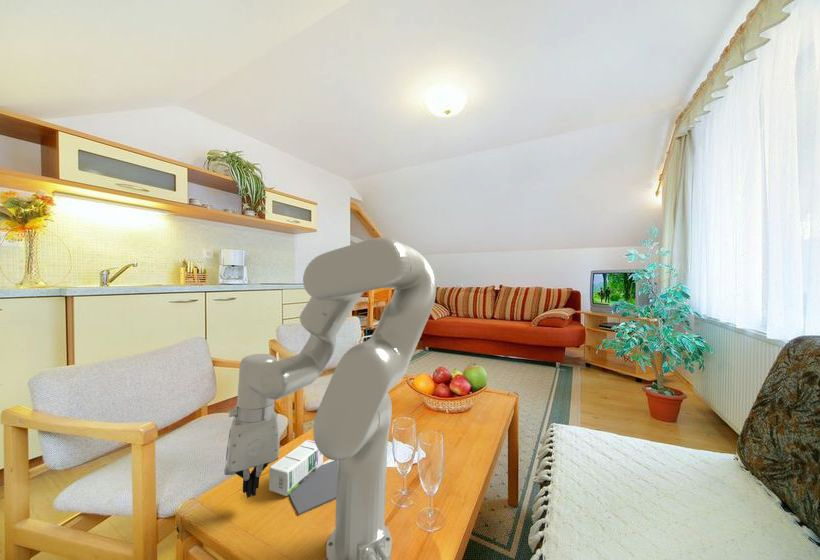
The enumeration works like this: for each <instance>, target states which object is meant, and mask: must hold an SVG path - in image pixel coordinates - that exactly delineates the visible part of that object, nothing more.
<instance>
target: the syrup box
mask: <svg viewBox="0 0 820 560" xmlns="http://www.w3.org/2000/svg"><path fill="white" fill-rule="evenodd" d="M321 465H324V456H323V455H322V454H321V453H320V451H319V450H318V448H317V446H316V443H315V440H311V439H307V440H305V441H304V442H302V443H301V444H300V445H298V446H296V447H295V448H293V450H291V451H289V453H287V454H286V455H284V456H283V457H281V458H280V459H279V460H277V461H275V463H274V464H272V465H270V466H269V477H268V478H269V481H268V491H271V492H273V493H276V494H279V495H282V496H285V497H289V494H290V493H291V492H292V491H293V490H294V489H295V488H296V487H298V486H299V485H300V484H301V483H302V482H303V481H304V480H305V479H306V478H307V477H309V476H310V475H311V474H312V473H313V472H314V471H315V470H316V469H317V468H319V467H320V466H321Z"/></svg>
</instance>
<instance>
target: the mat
mask: <svg viewBox="0 0 820 560" xmlns="http://www.w3.org/2000/svg"><path fill="white" fill-rule="evenodd" d="M337 468H338V461H335V460H331V461H330V462H326V463H323V464H322V465H321V466H320V467H319V468H317V469H316V470H315V471H314V472H313V473H312V474H311V475H310V476H309V477H307V478H306V479H305V480H304V481H303V482H302V483H301V484H300V485H299V486H298V487H296V488H295V489H294V490H293V491H292V492H291V493H290V494H289V495H288V497H289V499H290V501H291V503H292V505H293V506H294V509H295V512H296V513H297V515H298V516H301V515H303V514H305V513H308V512H309V511H312V510H314V509H316V508H319V507H321V506H323V505H326V504H327V503H329V502H332V501H334V500H336V492H337Z"/></svg>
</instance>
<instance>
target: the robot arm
mask: <svg viewBox="0 0 820 560" xmlns="http://www.w3.org/2000/svg"><path fill="white" fill-rule="evenodd" d="M302 276H303V278H302V282H303V283H302V284H303V287H304V290H305V292H306V293H307V294H308V295H309V296H310V298H309V300H308V302H307V304H306V305H305V306H304V309H303V310H302V311H301V312H300V316H299V322H300V324H301V326H302V328H303V329H304V330H306V332H308V333H309V334H310V335H309V338H308V339H307V341H306V342H305V345H304V346H303V348H302V349H301V351H300V352H299V353H297V354H296V355H292V356H289V357H287V358H283V359H279V360H277V358H276V356H274V355H273V354H269V353H253V354H250V355H246V356H245V357H242V359H241V360H240V363H239V370H238V371H239V372H238V384H237V385H238V387H237V398H236V401H237V403H236V404H235V405H236V406H235V407H234V408H233V409H231V410H229V411H228V417H229V418H231V417H233V419H232V422H231V425H230V429H229V433H228V438H227V446H226V453H225V454H226V455H225V459H226V460H225V461H226V463H225V466H224V468H223V473H224V475H225V476H231V475H232V476H233V475H237V476H238V477H240V478H241V479H242V493H243V494H246V498H247V499H249V498H251V497H255V496H256V495H257V489H259V488H260V487H259V486H260V476H261V475H262V473H263V472H264V470H265V469H266V467H268V466H269V464H272V463H274V462H277V461H278V459H279V455H280V421H279V415H278V413H277V411H275V404H276V403H275V400H280V399H283V398H285V397H287V396H289V395H291V394H293V393H295V392H297V391H299V390H302V389H303V388H305V387H308V386H309V385H311V384H313V383H314V382H315V381H316V380H317V379H319V377H320V376H321V374H322V373H323V371H324V370H325V368H326V367H327V366H328V364H329V362H330V360H331V359H332V357H333V354H334V352H335V349H336V344H337V335H338V333H339V331H340V329H341V328H342V326H343V325H344V323H345V322H346V320H347V319H348V317H349V315H350V314H351V312H352V310H353V309H354V308H355V306H356V305H357V303H358V302H359V300H360V298H361V296H362V295H363V294H364V293H365V292H369V291H370V292H371V291H374V290H378V289H385V288H387V289H393V294H392V296H391V298H390V300H389V301H388V302H387V304H386V306H385V307H384V309H383V311H382V312H381V313H382V314H381V315H380V319H379V321H378V323H377V325H376V327H375V329H374V331H373V333H372V335H371V336H370V337H369V338H368V339H367V340H365V341H362V342H360V343H358V344H355V345H354V346H352V347H351V348H349V349H348V350H347V351H346V353H344V355H342V357H341V358H340V359H339V362H338V363H337V364H336V367H335V369H334V372H333V373H332V375H331V378H330V381H329V383H328V385H327V387H326V389H325V392H324V395H323V397H322V400H321V402H320V403H319V406H318V409H317V411H316V414H315V417H314V422H313V431H312V433H313V434H312V435H313V441H315V443H316V446H317V448H318V450H319V451H320V453H321V454H322V455H323V457H325V458H326V459H328V460H330V461H338V468H337V492H336V499H335V502H336V503H335V524H334V525H335V526H334V529H333V531H332V532H331V534H329V537H328V539H327V541H326V546H325V556H326V560H392V556H391V554H392V553H391V552H392V549H393V548H392V545H393V539H392V534H391V531H390V530H389V528H388V526H387V525H385V521H386V520H385V519H386V493H387V491H386V489H387V468H388V467H387V465H388V462H387V461H388V445H389V444H388V443H389V438H390V437H389V435H390V427H391V422H392V414H393V412H392V411H393V407H392V406H393V404H392V400H391V397H390V393H389V392H390V390H392V389H393V388H395V386H396V385H397V384H398V383H400V382H401V380H402V379H403V378H404V376H405V374H406V372H407V370H408V368H409V365H410V362H411V359H412V357H413V355H414V353H415V350H416V349H417V346H418V343H419V341H420V339H421V337H422V334H423V332H424V329H425V328H426V327H425V326H426V325H427V322H428V320H429V318H430V316H431V313H432V312H433V311H432V310H433V307H434V305H435V302H436V301H435V300H436V295H437V281H436V277H435V273H434V271H433V269H432V267H431V265H430V263H429V261H428V260H427V259H426V258H425V257H424V256H423V255H422V253H420V252H419V251H417V250H416V249H415V248H413V247H411V246H409V245H407V244H404V243H402V242H400V241H398V240H396V239H392V238H390V237H389V238H388V237H373V238H370V239H365V240H362V241H359V242H356V243H353V244H350V245H346V246H342V247H339V248H336V249H333V250H329V251H327V252H324V253H321V254H319V255H317V256H315V257H314V258H313V259H312V260H310V262H308V264H307V266H306V267H305V270H304V272H303V275H302ZM251 468H253V469H252V470H251V471H250V469H251Z"/></svg>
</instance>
